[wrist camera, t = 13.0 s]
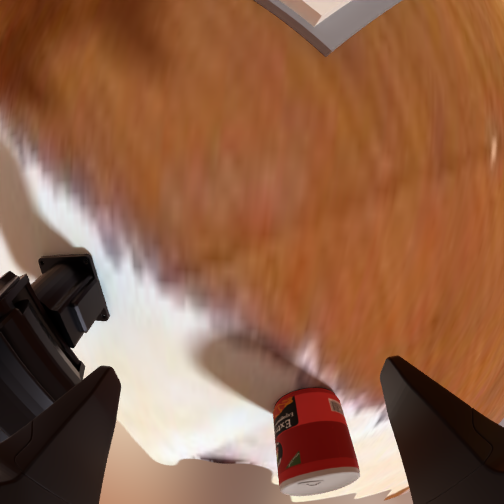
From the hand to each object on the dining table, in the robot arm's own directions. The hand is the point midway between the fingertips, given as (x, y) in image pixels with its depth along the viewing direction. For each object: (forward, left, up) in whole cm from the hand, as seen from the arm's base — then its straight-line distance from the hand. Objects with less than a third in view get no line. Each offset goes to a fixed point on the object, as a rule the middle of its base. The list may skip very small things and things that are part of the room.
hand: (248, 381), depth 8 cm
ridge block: (+8, +20, -13) cm, 25 cm away
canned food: (+6, -21, -13) cm, 26 cm away
